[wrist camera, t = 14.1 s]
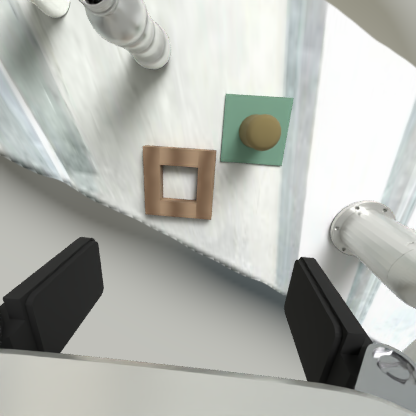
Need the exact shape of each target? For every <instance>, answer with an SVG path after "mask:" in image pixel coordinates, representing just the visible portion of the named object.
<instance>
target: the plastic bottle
mask: <svg viewBox="0 0 416 416" xmlns="http://www.w3.org/2000/svg"><path fill="white" fill-rule="evenodd" d="M79 1H80V2H81V3H82V4H83V5H84V6H85V10H86V14H87V16H88V19H89V21H90V23H91V24H92V26H93V28H94V29H95V31H96V32H97V33H98V34H99V35H100V36H101V37H102V38H103V39H105V40H107V41H108V42H110V43H112V44H115V45H118V46H120V47H123V48H124V49H126V50H128V51H129V52H130V54H131V55H132V57H133V58H134V59H135V61H136V62H137V63H138V64H139V65H141V66H142V67H144V68H147V69H159V68H161V67H163V66H164V65H165V64H166V63H167V62H168V60H169V58H170V54H171V45H170V40H169V37H168V35H167V33H166V32H165V30H164V29H163V28H162V27H161V26H160V25H159V24H157V23H156V22H154V21H153V20H152V19H151V17H150V15H149V13H148V11H147V9H146V6H145V3H144V1H143V0H79Z"/></svg>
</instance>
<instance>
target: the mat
mask: <svg viewBox="0 0 416 416" xmlns="http://www.w3.org/2000/svg"><path fill="white" fill-rule="evenodd" d="M293 99H294V98H285V97H269V96H252V95H236V94H226V101H225V113H224V125H223V137H222V150H221V161H224V162H238V163H252V164H265V165H279V166H282V160H283V154H284V149H285V143H286V138H287V132H288V126H289V121H290V115H291V110H292V104H293ZM254 114H258V115H262V114H268V115H272V116H273V117H275V118H276V119H277V120H278V121H279V123H280V126H281V136H280V139H279V141H278V143H277V144H276V145H275V146H274V147H273V148H271V149H269V150H266V151H258V150H255V149H253V148H250V147H247V146H246V145H244V144H243V143H242V141H241V139H240V137H239V128H240V125H241V123H242V121H243V120H244V119H245V118H246V117H248V116H250V115H254Z"/></svg>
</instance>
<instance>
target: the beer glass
mask: <svg viewBox="0 0 416 416" xmlns="http://www.w3.org/2000/svg"><path fill="white" fill-rule="evenodd" d="M28 1H30V2H32V3H33V4H34V5H36V6H37V7H38V8H39V9H40V10H41V11H42V12H43V13H44V14H46V15H47V16H49V17H53V18H59V17H62V16H63V15H65V14H66V12H67V11H68V8H69V5H70V0H28Z"/></svg>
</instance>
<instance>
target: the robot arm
mask: <svg viewBox="0 0 416 416" xmlns="http://www.w3.org/2000/svg"><path fill="white" fill-rule="evenodd" d="M330 235H331V239H332V242H333V243H334V245H335V246H336V247H337V248H338V249H339V250H340V251H341V252H343V253H345V254H347V255H351V256H356V257H357V258H358V259H359V260H360V261H361V262H362V263H363V264H364V265H365V266H366V267H367V268H368V269H369V270H370V271H371V272H372V273H373V274H374V275H375V276H376V277H377V278H378V279H379V280H381V281H382V282H383V283H384V284H385V285H386V286H387V287H388V288H389V289H390V290H391V291H392V292H393V293H394V294H395V295H396V296H397V297H398V298H399V299H400V300H401V301H403V302H404V303H406V304H407V305H409V306H411V307H413V308H415V309H416V232H415V230H414V229H410V228H408V227H406V226H405V225H403V224H401V223H399V222H397V221H396V218H395V215H394V213H393V212H392V211H391V210H390V208H388V207H387V206H385V205H384V204H381V203H379V202H376V201H360V202H356V203H354V204H351V205H349V206H347V207H346V208H344V209H343V210H342V211H341V212H340V213H339V214H338V215H337V216H336V217H335V219H334V221H333V223H332V226H331V230H330ZM103 289H104V287H103V278H102V270H101V262H100V255H99V247H98V243H97V242H96V241H95V240H94V239H93V238H85V237H80V238H78V239H77V240H75V241H74V242H73V243H72V244H70V245H69V246H68V247H67V248H65V249H64V250H63V251H62V252H61V253H59V254H58V255H56V256H55V257H54V258H53V259H51V260H50V261H49V262H47V263H46V264H45V265H44V266H42V267H41V268H40V269H39V270H37V271H36V272H35V273H33V274H32V275H31V276H30V277H28V278H27V279H26V280H25V281H23V282H22V283H21V284H20V285H18V286H17V287H16V288H14V289H13V290H12V291H11V292H9V293H8V294H7V295H6V296H4V297H3V301H4V303H3V304H2V305H1V306H0V416H416V339H415V340H414V341H413V342H412V343H411V344H410V345H409V346H408V347H406V348H405V349H404V350H403V351H402V352H401V351H399V350H397V349H395V348H393V347H391V346H389V345H385V344H382V343H373V342H372V341H371V340H370V338H369V337H368V335H367V334H366V332H365V331H364V329H363V328H362V326H361V325H360V324H359V322H358V321H357V319H356V318H355V316H354V315H353V313H352V312H351V310H350V309H349V308H348V306H347V305H346V303H345V302H344V300H343V299H342V297H341V296H340V294H339V293H338V292H337V290H336V289H335V287H334V286H333V285H332V283H331V282H330V280H329V279H328V277H327V276H326V274H325V273H324V271H323V270H322V269H321V267H320V266H319V264H318V263H317V261H316V260H315V259H314V258H306V257H300V259H299V260H296V261H295V264H294V268H293V272H292V276H291V280H290V284H289V289H288V293H287V297H286V301H285V306H284V310H285V315H286V318H287V321H288V324H289V327H290V330H291V333H292V336H293V339H294V342H295V345H296V348H297V351H298V354H299V357H300V360H301V363H302V366H303V369H304V372H305V375H306V378H307V381H301V380H293V379H286V378H277V377H270V376H262V375H253V374H244V373H236V372H226V371H218V370H210V369H201V368H192V367H183V366H174V365H165V364H156V363H147V362H137V361H128V360H119V359H109V358H100V357H90V356H80V355H71V354H61V353H60V352H61V351H62V350H63V348H64V347H65V345H66V344H67V343H68V341H69V340H70V338H71V337H72V336H73V334H74V333H75V331H76V330H77V329H78V327H79V326H80V324H81V323H82V322H83V320H84V319H85V317H86V316H87V315H88V313H89V312H90V310H91V309H92V308H93V306H94V305H95V303H96V302H97V301H98V299H99V298H100V296H101V295H102V293H103Z"/></svg>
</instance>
